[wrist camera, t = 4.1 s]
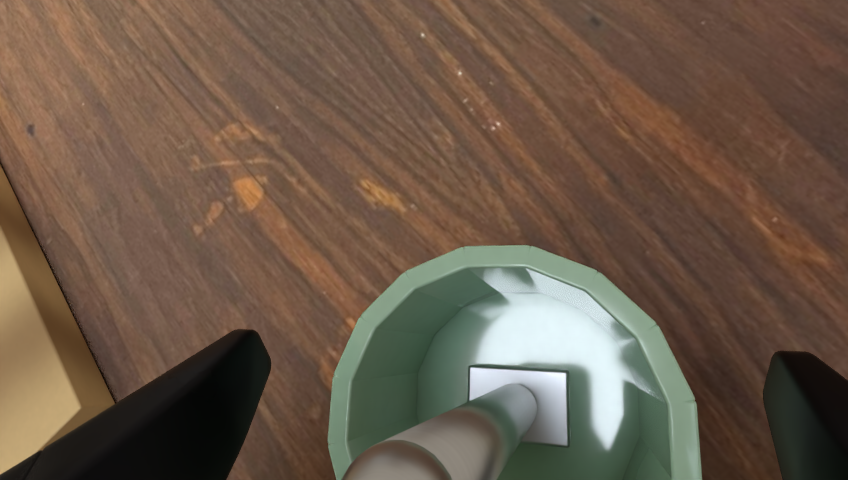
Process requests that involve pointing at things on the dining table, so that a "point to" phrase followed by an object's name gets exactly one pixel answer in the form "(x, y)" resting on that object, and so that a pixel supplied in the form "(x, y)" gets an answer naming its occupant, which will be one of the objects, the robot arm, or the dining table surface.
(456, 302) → the cup
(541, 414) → the metal joystick
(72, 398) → the board
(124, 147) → the dining table surface
